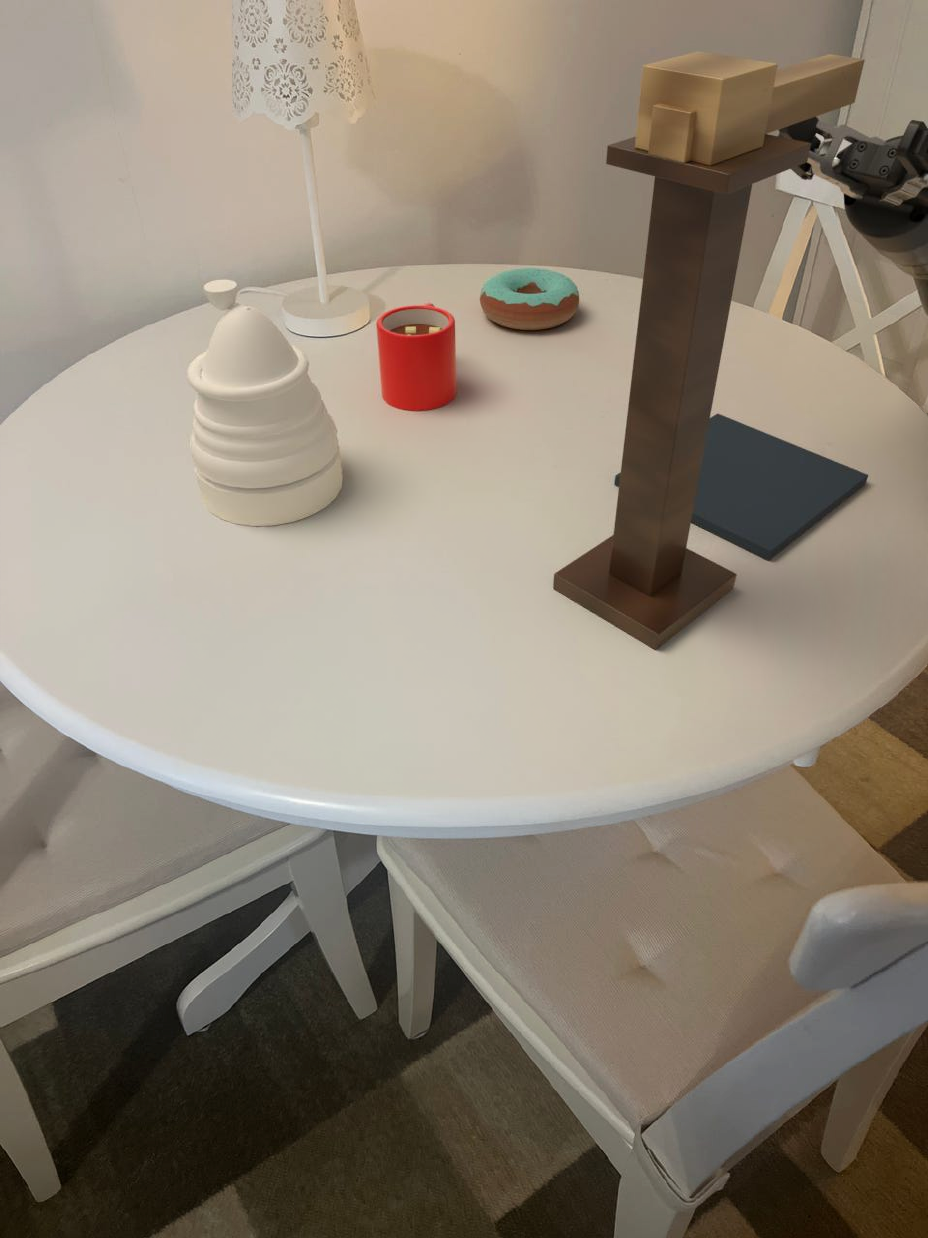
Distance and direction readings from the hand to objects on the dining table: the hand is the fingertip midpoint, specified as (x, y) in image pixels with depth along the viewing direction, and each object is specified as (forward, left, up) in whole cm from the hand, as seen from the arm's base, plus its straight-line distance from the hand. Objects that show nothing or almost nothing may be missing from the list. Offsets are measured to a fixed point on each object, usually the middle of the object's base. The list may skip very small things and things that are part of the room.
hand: (846, 124), depth 61 cm
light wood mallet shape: (0, +11, +2) cm, 11 cm away
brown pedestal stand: (0, +16, -30) cm, 34 cm away
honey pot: (+33, +28, -30) cm, 53 cm away
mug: (+38, +5, -30) cm, 49 cm away
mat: (+3, -2, -30) cm, 30 cm away
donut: (+42, -16, -30) cm, 54 cm away
